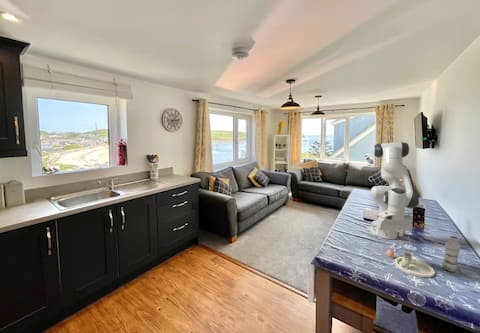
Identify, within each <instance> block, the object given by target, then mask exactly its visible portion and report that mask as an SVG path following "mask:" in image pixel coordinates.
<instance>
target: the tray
mask: <svg viewBox="0 0 480 333" xmlns="http://www.w3.org/2000/svg"><path fill="white" fill-rule="evenodd" d="M402 258H404V256H399V257H396V258H395V259H394V265H395V267H397V269H399V270H400V271H402V272H405V273H406V274H408V275H410V276H411V275H412V276H414V277H418V278H425V279H426V278H432V277H434V276H435V275H436V272H435V270H434V267H432V266H431V265H429V264H428V263H427V262H424V261H422V260H420V259H417V258H413V257H412V258H411V264H410V265H409V269H404V268H402V267H401V265H402Z"/></svg>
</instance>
